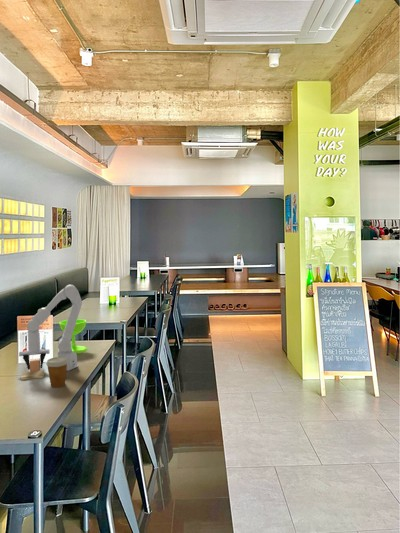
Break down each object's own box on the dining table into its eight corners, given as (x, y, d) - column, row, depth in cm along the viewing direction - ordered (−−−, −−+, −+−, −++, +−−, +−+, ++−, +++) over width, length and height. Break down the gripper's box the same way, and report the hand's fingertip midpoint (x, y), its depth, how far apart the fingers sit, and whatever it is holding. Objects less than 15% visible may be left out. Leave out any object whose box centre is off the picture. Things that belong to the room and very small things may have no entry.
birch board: (44, 373, 206) (44, 370, 206) (42, 377, 199) (42, 374, 199) (23, 375, 203) (23, 372, 203) (21, 379, 196) (20, 376, 196)
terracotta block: (40, 369, 212) (40, 358, 212) (39, 372, 208) (39, 360, 208) (31, 370, 211) (30, 359, 211) (30, 373, 207) (29, 361, 207)
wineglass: (76, 345, 260) (75, 318, 259) (92, 349, 250) (91, 320, 249) (54, 351, 247) (53, 322, 246) (71, 355, 238) (69, 325, 236)
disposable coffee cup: (72, 382, 191) (72, 357, 191) (59, 389, 182) (58, 363, 182) (56, 380, 195) (55, 356, 194) (42, 387, 186) (41, 361, 185)
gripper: (17, 345, 203) (18, 372, 204) (48, 343, 207) (49, 369, 208) (19, 342, 210) (21, 368, 211) (49, 340, 214) (50, 365, 215)
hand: (35, 368), depth 210 cm, fingers open, 5 cm apart
